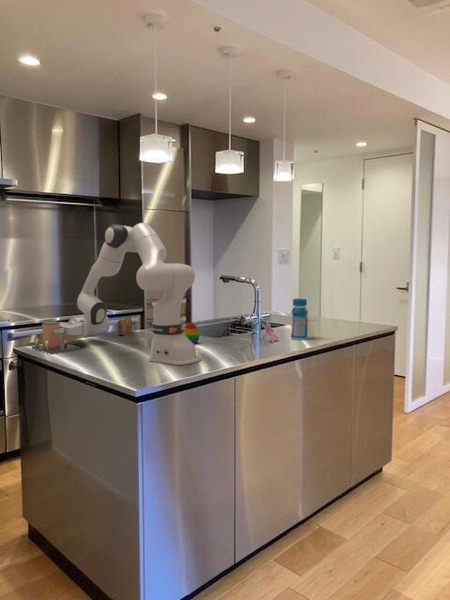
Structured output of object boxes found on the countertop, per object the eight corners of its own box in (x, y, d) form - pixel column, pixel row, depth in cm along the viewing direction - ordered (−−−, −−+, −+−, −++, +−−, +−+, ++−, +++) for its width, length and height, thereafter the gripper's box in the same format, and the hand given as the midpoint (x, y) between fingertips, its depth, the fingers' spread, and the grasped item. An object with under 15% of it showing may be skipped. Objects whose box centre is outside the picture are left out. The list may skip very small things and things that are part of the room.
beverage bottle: (296, 340, 238) (297, 300, 236) (287, 337, 245) (288, 298, 243) (311, 339, 241) (311, 299, 239) (301, 336, 249) (302, 298, 247)
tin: (121, 336, 252) (121, 320, 251) (116, 336, 253) (115, 320, 252) (132, 331, 267) (132, 316, 266) (127, 331, 267) (127, 316, 266)
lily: (261, 346, 229) (271, 329, 227) (248, 333, 238) (258, 317, 236) (278, 351, 237) (288, 334, 235) (265, 338, 245) (274, 322, 243)
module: (60, 346, 219) (59, 322, 218) (49, 348, 215) (48, 323, 214) (54, 344, 223) (53, 321, 221) (42, 346, 218) (42, 322, 217)
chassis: (79, 349, 218) (79, 339, 217) (50, 354, 207) (50, 343, 207) (60, 344, 229) (60, 334, 229) (32, 349, 219) (31, 338, 218)
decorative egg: (179, 344, 230) (178, 323, 229) (188, 341, 237) (187, 321, 236) (193, 345, 226) (193, 324, 225) (202, 342, 233) (202, 322, 232)
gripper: (64, 318, 234) (37, 321, 224) (88, 322, 221) (60, 325, 210) (65, 331, 235) (38, 334, 225) (88, 335, 221) (60, 340, 211)
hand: (49, 330), depth 217 cm, fingers open, 6 cm apart
